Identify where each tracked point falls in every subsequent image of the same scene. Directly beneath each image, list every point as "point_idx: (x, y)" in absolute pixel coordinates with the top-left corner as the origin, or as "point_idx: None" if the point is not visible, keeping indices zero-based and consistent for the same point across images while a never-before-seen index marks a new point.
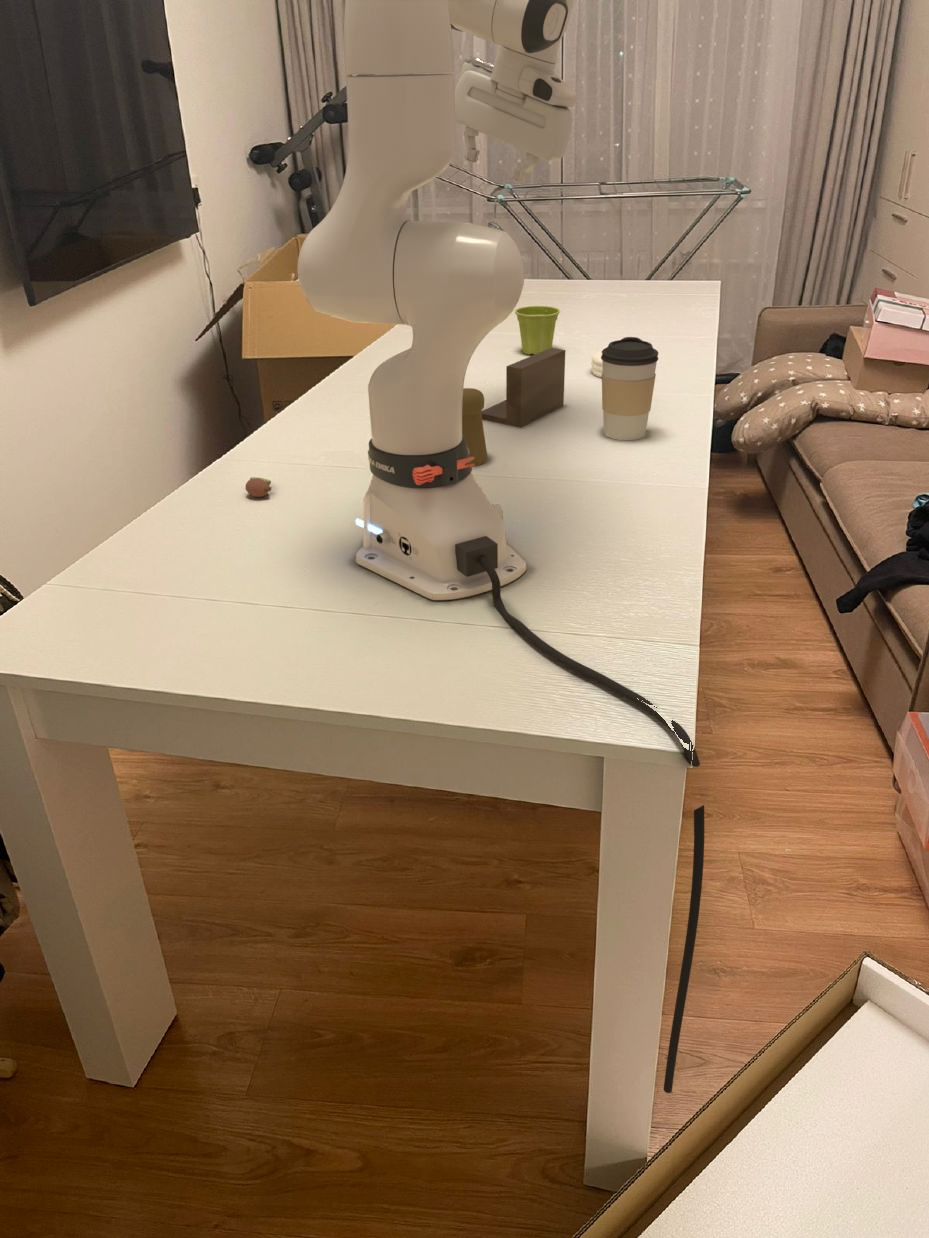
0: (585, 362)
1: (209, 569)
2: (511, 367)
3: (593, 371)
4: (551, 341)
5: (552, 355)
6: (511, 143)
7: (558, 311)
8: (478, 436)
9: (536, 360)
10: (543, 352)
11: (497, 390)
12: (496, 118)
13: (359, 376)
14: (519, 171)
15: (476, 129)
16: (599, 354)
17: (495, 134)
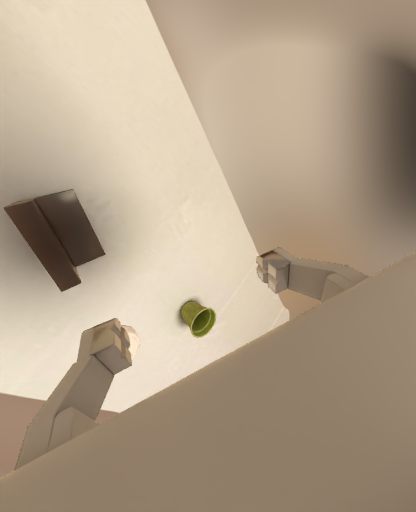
0: (152, 330)
1: None
2: (21, 203)
3: (122, 326)
4: (184, 320)
5: (47, 270)
6: (154, 402)
7: (194, 335)
8: None
9: (35, 244)
10: (67, 267)
11: (134, 247)
12: (345, 427)
13: (215, 187)
14: (93, 351)
15: (338, 296)
16: (132, 339)
17: (260, 353)
